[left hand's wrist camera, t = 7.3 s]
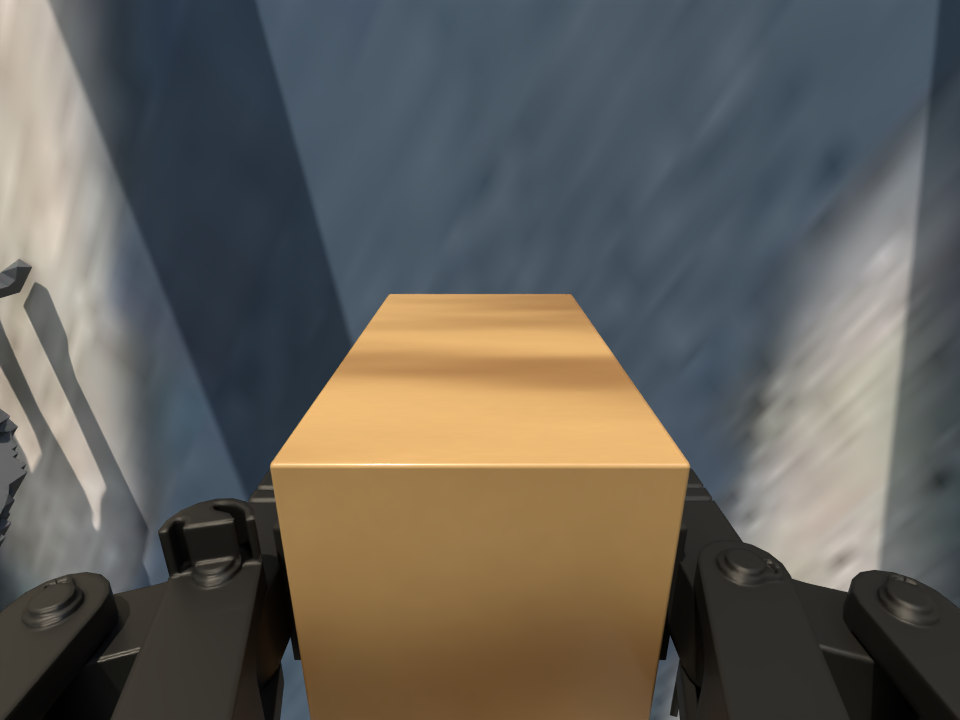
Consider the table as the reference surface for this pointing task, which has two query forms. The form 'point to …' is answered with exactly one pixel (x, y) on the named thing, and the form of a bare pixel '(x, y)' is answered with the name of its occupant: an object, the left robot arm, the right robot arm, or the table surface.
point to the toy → (3, 469)
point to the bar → (480, 519)
